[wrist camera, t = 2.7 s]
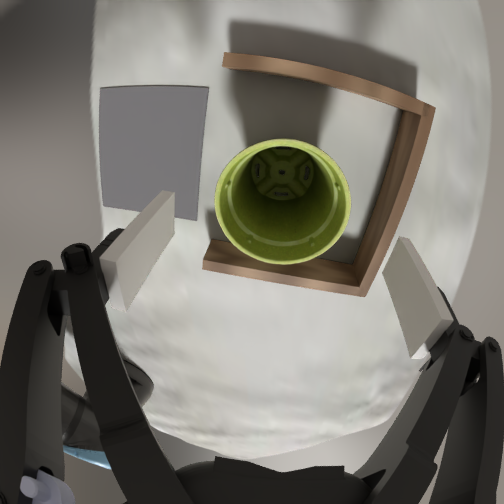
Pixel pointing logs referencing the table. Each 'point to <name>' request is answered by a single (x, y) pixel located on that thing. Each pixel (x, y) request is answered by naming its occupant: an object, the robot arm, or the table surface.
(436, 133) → the table surface
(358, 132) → the table surface
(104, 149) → the charcoal mat
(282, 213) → the plant pot
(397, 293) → the robot arm
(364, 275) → the walnut bay
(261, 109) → the table surface
